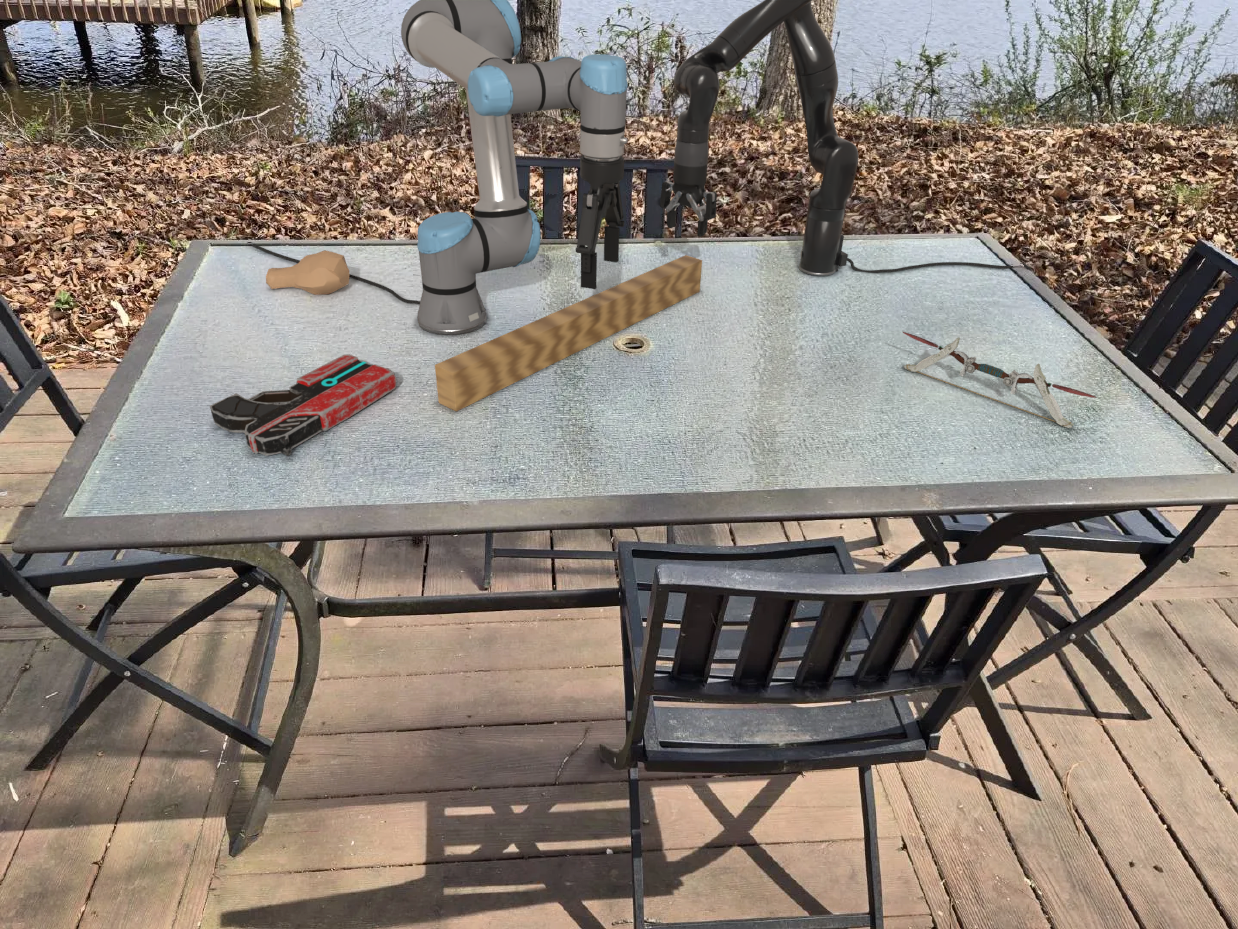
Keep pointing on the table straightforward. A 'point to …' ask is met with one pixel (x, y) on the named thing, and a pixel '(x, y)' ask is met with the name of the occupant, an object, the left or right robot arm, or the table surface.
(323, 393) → the gun
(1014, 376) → the bow
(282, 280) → the squash
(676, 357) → the table surface
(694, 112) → the right robot arm
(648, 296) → the beam
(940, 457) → the table surface
